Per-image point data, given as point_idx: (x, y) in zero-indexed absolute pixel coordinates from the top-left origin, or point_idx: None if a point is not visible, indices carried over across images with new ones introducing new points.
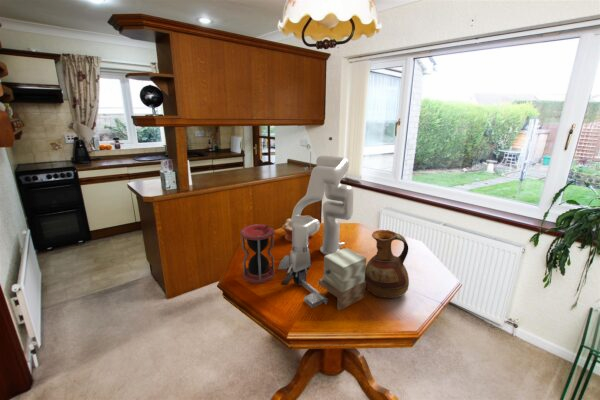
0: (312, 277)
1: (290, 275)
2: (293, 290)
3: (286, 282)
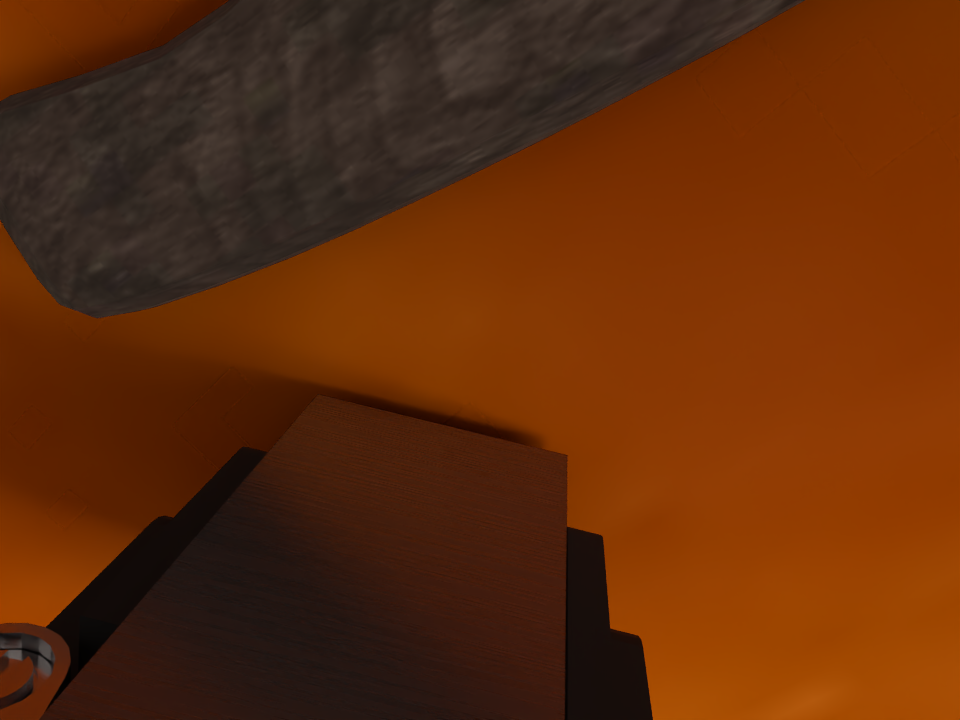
0: (937, 613)
1: (407, 118)
2: (97, 570)
3: (55, 285)
